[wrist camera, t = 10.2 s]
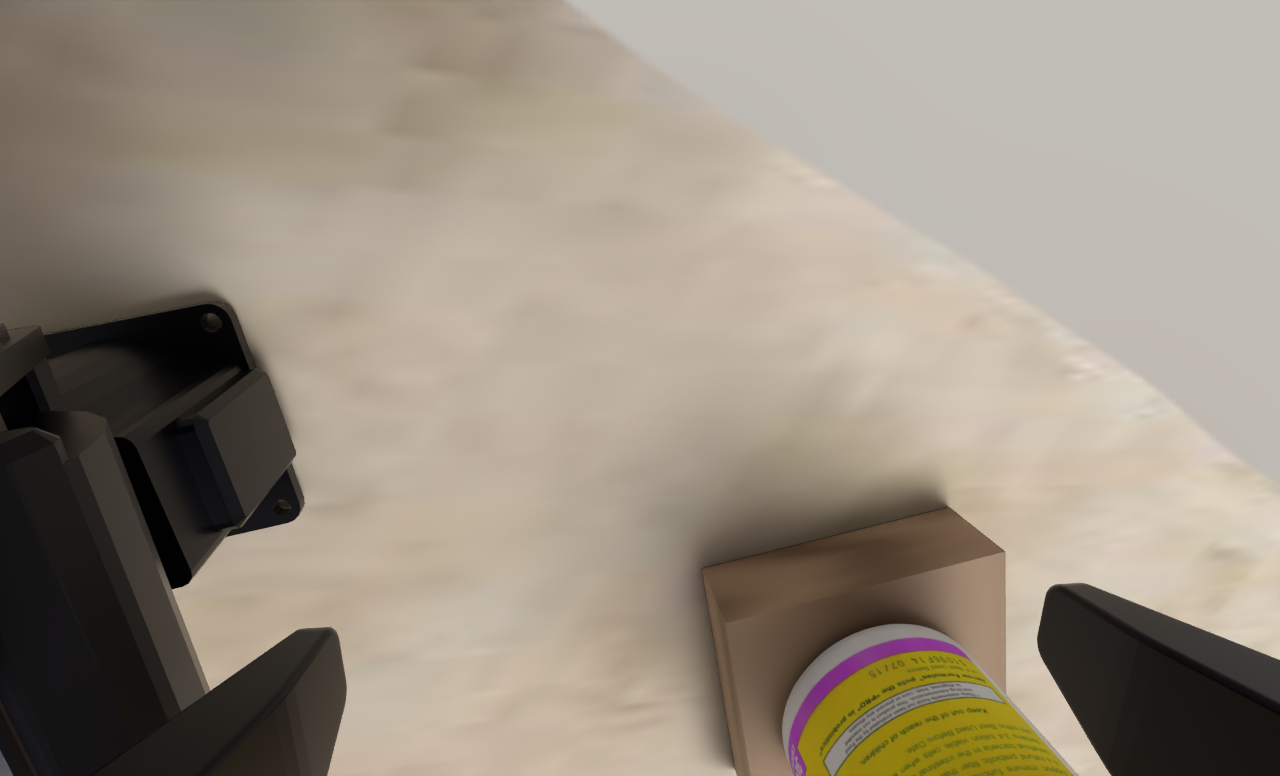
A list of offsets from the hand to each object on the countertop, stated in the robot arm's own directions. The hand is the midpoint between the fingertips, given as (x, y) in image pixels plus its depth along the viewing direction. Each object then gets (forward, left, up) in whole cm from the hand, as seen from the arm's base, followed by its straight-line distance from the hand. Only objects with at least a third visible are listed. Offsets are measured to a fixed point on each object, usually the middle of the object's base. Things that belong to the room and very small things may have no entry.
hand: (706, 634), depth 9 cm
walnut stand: (+7, -12, -13) cm, 19 cm away
